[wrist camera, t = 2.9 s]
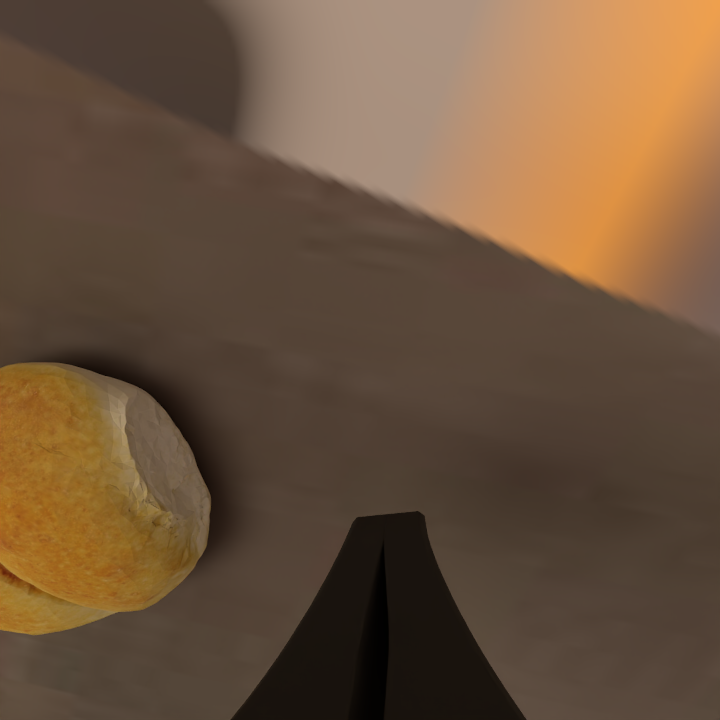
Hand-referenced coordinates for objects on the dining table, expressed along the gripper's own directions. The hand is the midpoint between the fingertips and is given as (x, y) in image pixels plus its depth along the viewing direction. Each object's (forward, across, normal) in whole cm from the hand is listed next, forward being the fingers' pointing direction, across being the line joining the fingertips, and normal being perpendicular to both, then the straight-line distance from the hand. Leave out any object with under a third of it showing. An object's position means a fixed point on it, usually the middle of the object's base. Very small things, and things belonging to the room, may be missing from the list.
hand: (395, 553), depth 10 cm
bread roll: (+5, +10, 0) cm, 11 cm away
